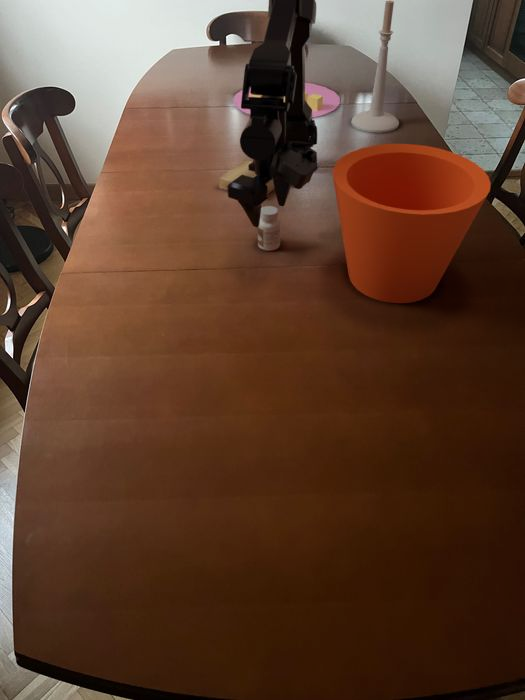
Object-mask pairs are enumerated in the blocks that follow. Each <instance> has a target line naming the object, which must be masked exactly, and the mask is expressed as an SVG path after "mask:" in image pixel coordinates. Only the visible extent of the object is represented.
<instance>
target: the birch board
mask: <svg viewBox="0 0 525 700" xmlns="http://www.w3.org/2000/svg"><path fill="white" fill-rule="evenodd" d="M252 162H253V161H250V160H247V159H244V160H243V161H241V162H240V163H238V164H237V165H235V166H234V167H232V168H231V169H229V170H228V171H226V172H225V173H224V174H222V175H221V176H219V177H218V189H221V190H224V191H227V185H229V184H230V183H231V182H232V181H234V180H235V179H236V178H238V177H239V176H241V175H245V176H249V177H252V178H254V177H255V176H256V174H255V172H253V171H250V170H249V166H248V165H249V164H250V163H252ZM266 185H267V187H268V193H267V195H268V194H270V193H272V191H275V188H274V183H273V180H272V181H270V182H269V183H268V184H266Z"/></svg>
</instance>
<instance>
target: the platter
mask: <svg viewBox="0 0 525 700" xmlns="http://www.w3.org/2000/svg"><path fill="white" fill-rule="evenodd" d="M250 90H251V87H250ZM250 90H249V96H248V97H262V95H253V94H251V93H250ZM242 91H243V89H241V90H240V91H238V92H237V93H236V94H234V97H233V100H232V101H233V104H234V106H235V108H237V109H238V110H239V111H242V112H243V113H244V114H247V115H250V109H241V101H242ZM305 101H306V102H307V104H308V105H309V106H310V107H311V109H312V119H313V118H318V117H322V116H325V115H327V114H330V113H332V112H334V111H336V109H338V107H340V105H341V97H340V96H339V95H338V94H337V92H336V91H334V90H332V89H329V88H328V87H325V86H323V85H320V84H319V85H318V84H315V83H312V82H305ZM284 102H285V96H284Z"/></svg>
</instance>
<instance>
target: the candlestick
mask: <svg viewBox="0 0 525 700" xmlns="http://www.w3.org/2000/svg"><path fill="white" fill-rule="evenodd" d="M394 5H395V1H394V0H385V3H384V12H383V22H382V29H381V30H379V31H378V33H379V35H380V37H379V40H380V43H381V45H380V47H379V53H378V58H377V59H378V60H377V65H376V72H375V76H374V77H375V78H374V82H373V83H374V84H373V90H372V95H371V103H370V106H369V107H370V108H369V110H366V111H365V110H364V111H361V112H359V113H357V114H355V115H354V116H353V117H352V119H351V126H353V127H354V128H355V129H358V130H359V131H362V132H366V133H371V134H372V133H373V134H383V133H389V132H392V131H395V130H397V129H398V128H399V125H400V121H399V119H398V118H397V117H396V116H395V115H393V114H391V113H389V112H387V111H384V107H385V106H384V104H385V93H386V79H387V66H388V54H389V42H390V41H391V40H392V38H391V36H392V34H394V31H393V30H391V28H392V20H393V13H394Z"/></svg>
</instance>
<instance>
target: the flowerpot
mask: <svg viewBox="0 0 525 700" xmlns="http://www.w3.org/2000/svg"><path fill="white" fill-rule="evenodd" d="M332 181H333V184H334V191H335V197H336V198H335V199H336V204H337V211H338V216H339V223H340V229H341V236H342V241H343V242H342V243H343V248H344V254H345V260H346V267H347V274H348V277H349V281H350V283H351V284H352V285H353V287H354V288H355V289H356V290H357V291H358V292H360V293H362V295H364V296H366V297H368V298H371V299H373V300H376V301H380V302H384V303H391V304H410V303H415V302H418V301H421V300H424V299H426V298H428V297H429V296H431V295H432V294H433V293H434V292H435V290H436V289H437V287H438V285H439V283H440V281H441V280H442V278H443V276H444V275H445V273H446V271H447V269H448V267H449V265H450V264H451V261H452V260H453V258H454V256H455V254H456V253H457V250H458V249H459V247H460V246H461V244H462V242H463V240H464V238H465V236H466V235H467V232H468V231H469V229H470V228H471V225H472V224H473V222H474V220H475V218H476V217H477V215H478V213H479V211H480V209H481V207H482V206H483V204H484V202H485V200H486V199H487V197H488V195H489V193H490V192H491V184H492V183H491V179H490V177H489V175H488V174H487V173H486V171H485V170H484V169H483V168H482V167H481V166H480V165H478V164H477V163H475V162H474V161H472V160H470V159H469V158H467V157H465V156H462V155H460V154H458V153H455V152H452V151H449V150H447V149H442V148H439V147H433V146H428V145H422V144H413V143H384V144H375V145H370V146H366V147H365V146H364V147H362V148H358V149H355V150H352V151H350V152H348V153H346V154H345V155H343V156H341V158H339V159H338V160H337V161H336V162H335V164H334V166H333V169H332Z"/></svg>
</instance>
